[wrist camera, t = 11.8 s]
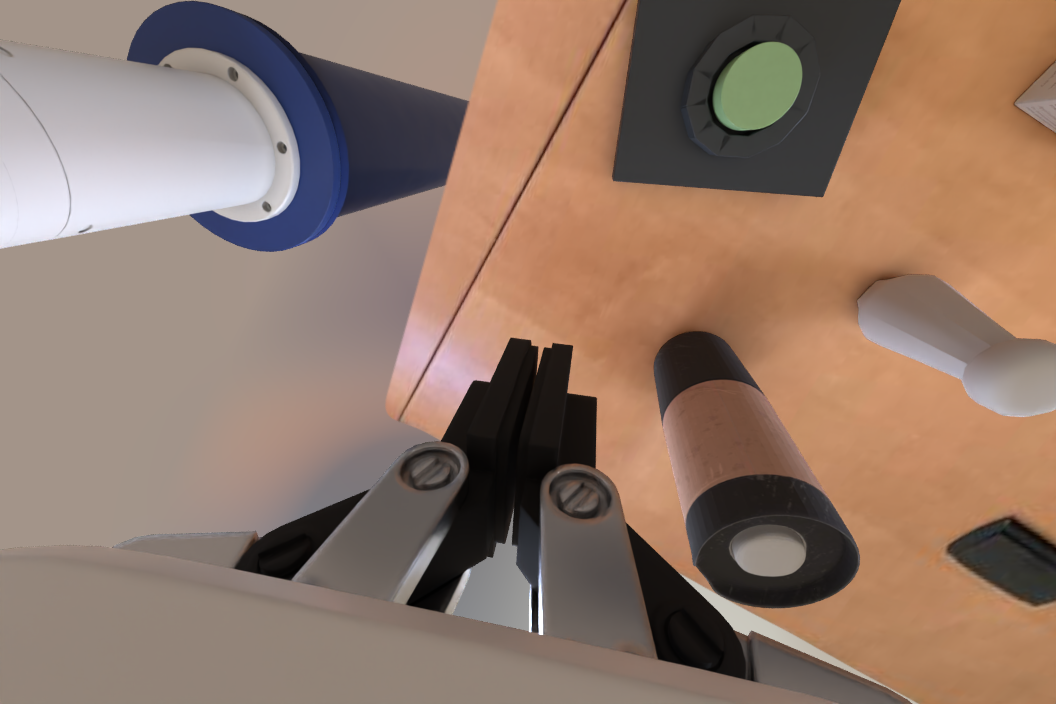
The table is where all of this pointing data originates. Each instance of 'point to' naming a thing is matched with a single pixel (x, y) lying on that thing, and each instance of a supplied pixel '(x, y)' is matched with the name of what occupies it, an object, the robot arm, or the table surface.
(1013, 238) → the table surface
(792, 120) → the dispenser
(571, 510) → the robot arm
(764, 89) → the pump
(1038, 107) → the product box
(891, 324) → the salt shaker
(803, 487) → the travel mug
